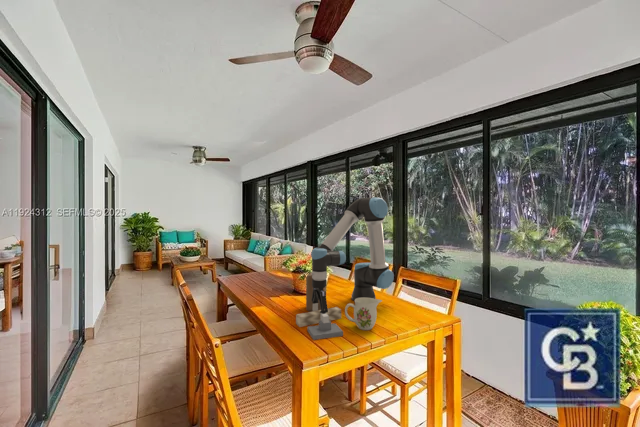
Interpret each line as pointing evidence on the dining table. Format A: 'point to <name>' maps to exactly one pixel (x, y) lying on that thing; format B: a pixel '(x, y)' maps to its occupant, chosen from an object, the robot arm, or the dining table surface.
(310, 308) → the wooden block
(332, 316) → the batten
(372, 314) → the floral ceramic pitcher
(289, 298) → the dining table surface
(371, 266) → the robot arm
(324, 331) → the fulcrum
